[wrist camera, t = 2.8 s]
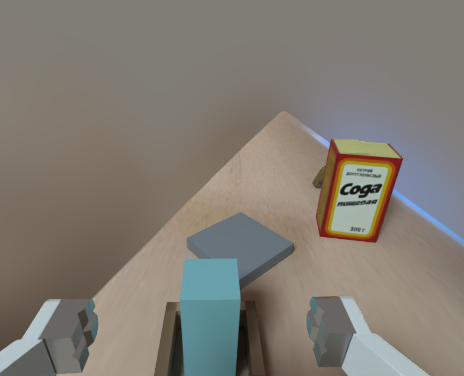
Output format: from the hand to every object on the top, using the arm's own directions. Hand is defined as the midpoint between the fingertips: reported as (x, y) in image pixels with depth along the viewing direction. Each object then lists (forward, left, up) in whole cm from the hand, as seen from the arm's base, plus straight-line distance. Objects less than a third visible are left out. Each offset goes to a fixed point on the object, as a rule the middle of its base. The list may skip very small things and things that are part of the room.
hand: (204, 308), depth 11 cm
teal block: (-8, -9, -22) cm, 26 cm away
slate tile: (-23, -20, -22) cm, 38 cm away
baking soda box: (-42, -12, -23) cm, 49 cm away
